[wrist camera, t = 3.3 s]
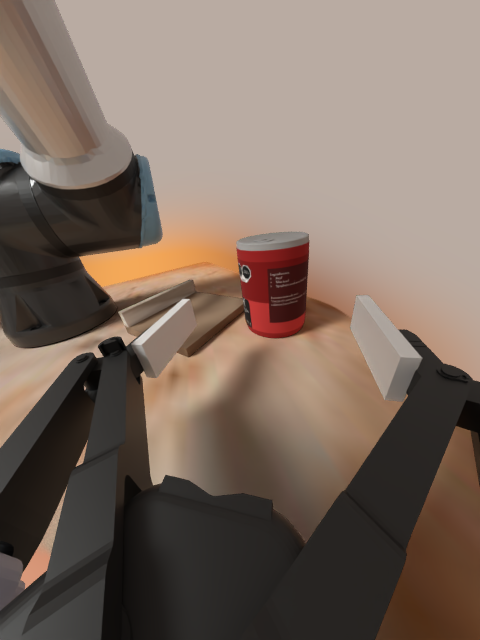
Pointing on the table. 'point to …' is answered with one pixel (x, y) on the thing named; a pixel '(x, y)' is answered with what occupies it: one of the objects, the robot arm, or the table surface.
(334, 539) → the robot arm
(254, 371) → the table surface
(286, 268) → the canned food
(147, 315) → the shelf board
